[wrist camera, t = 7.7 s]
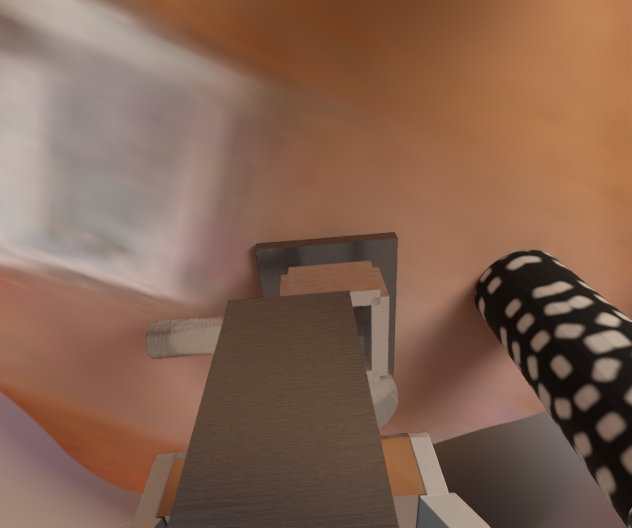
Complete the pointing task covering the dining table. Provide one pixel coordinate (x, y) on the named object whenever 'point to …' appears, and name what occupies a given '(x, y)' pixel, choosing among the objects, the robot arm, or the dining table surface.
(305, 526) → the brushed metal block
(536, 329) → the spotted tube
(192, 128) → the dining table surface
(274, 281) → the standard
